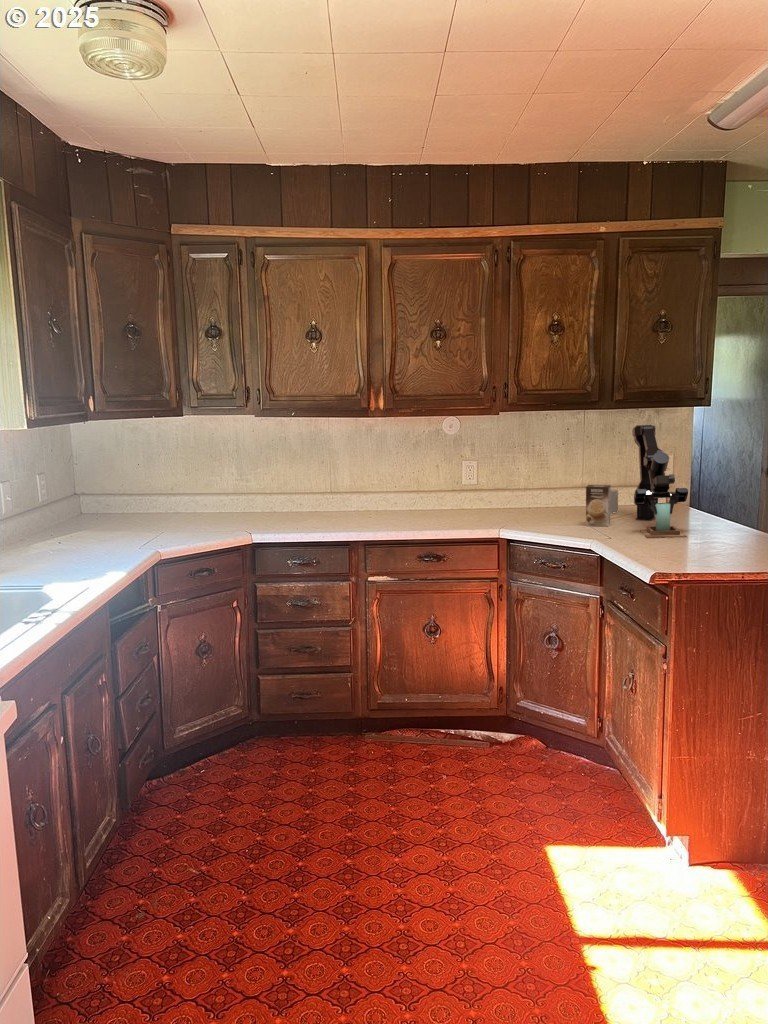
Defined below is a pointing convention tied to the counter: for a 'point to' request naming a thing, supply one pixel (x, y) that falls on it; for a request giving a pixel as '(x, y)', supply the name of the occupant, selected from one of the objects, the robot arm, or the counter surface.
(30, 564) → the counter surface
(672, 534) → the cradle board
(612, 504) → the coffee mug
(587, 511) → the coffee box
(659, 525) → the green dome-top cylinder
